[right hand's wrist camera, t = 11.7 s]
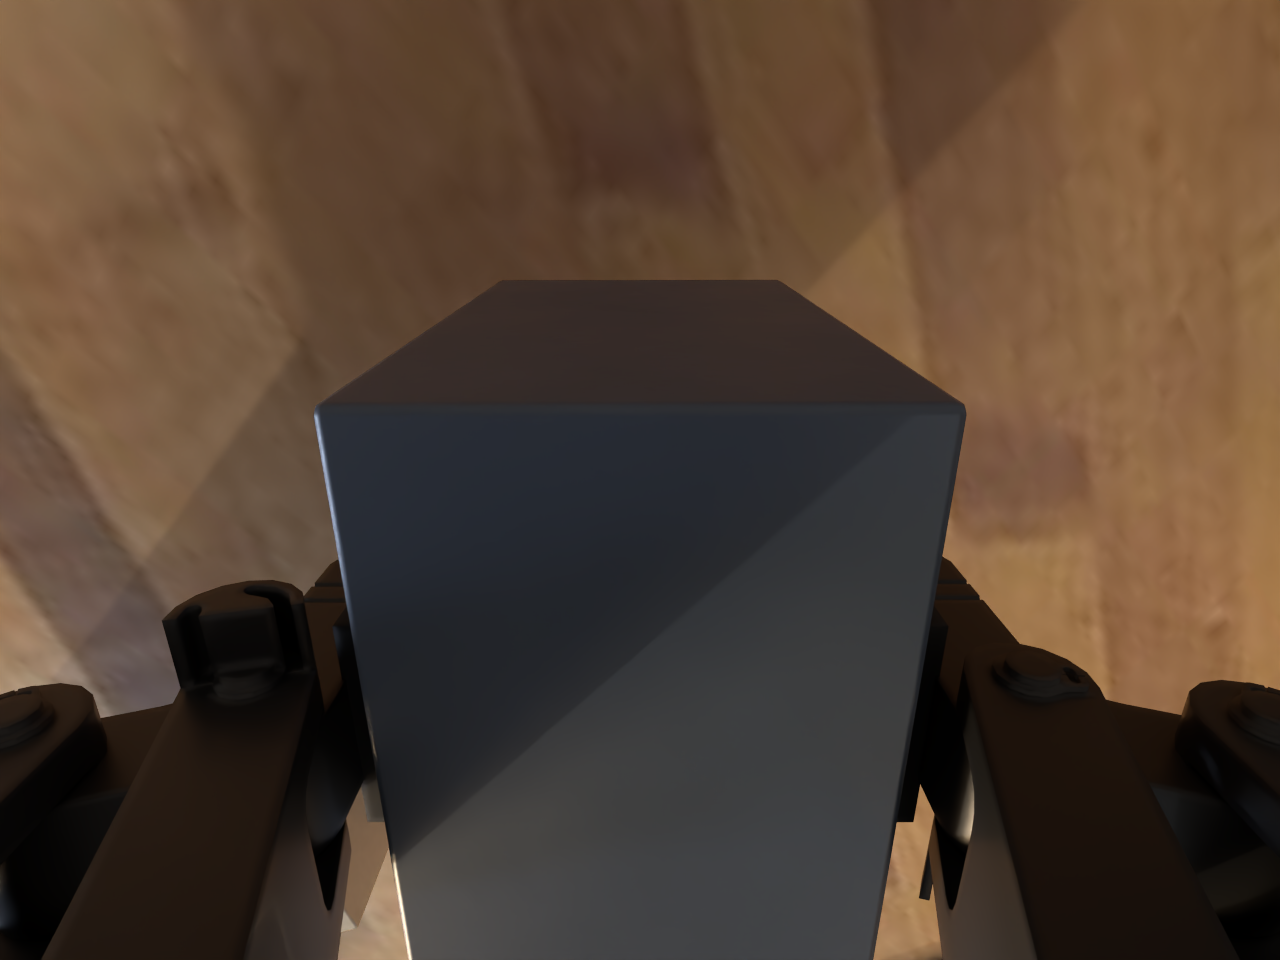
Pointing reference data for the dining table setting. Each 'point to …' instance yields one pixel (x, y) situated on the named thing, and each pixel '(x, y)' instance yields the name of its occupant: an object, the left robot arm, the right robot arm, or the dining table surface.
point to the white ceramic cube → (362, 861)
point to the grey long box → (640, 617)
